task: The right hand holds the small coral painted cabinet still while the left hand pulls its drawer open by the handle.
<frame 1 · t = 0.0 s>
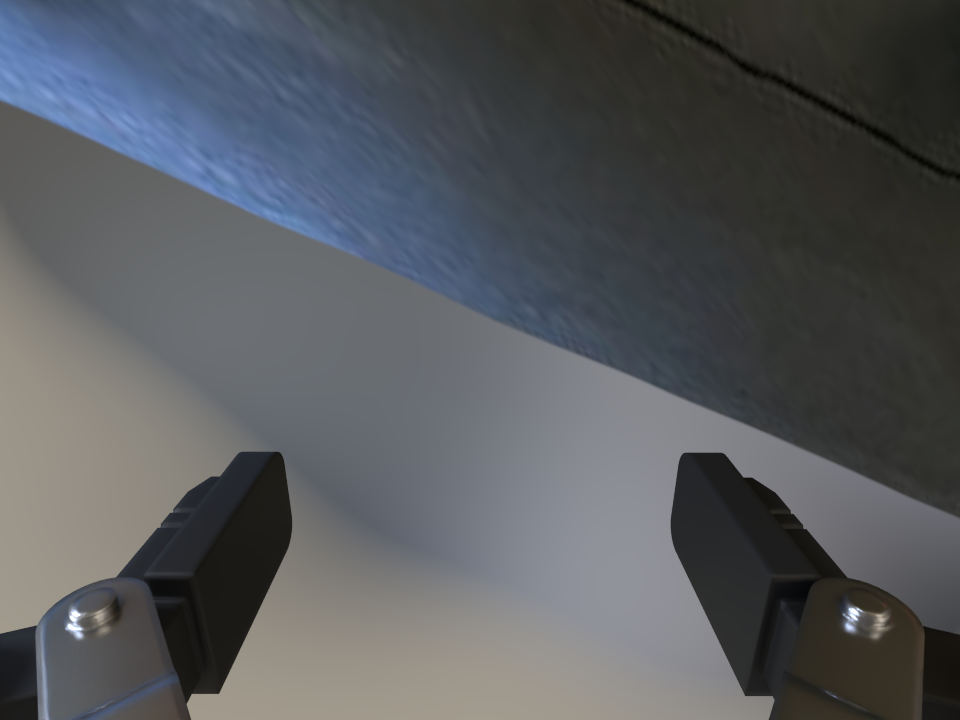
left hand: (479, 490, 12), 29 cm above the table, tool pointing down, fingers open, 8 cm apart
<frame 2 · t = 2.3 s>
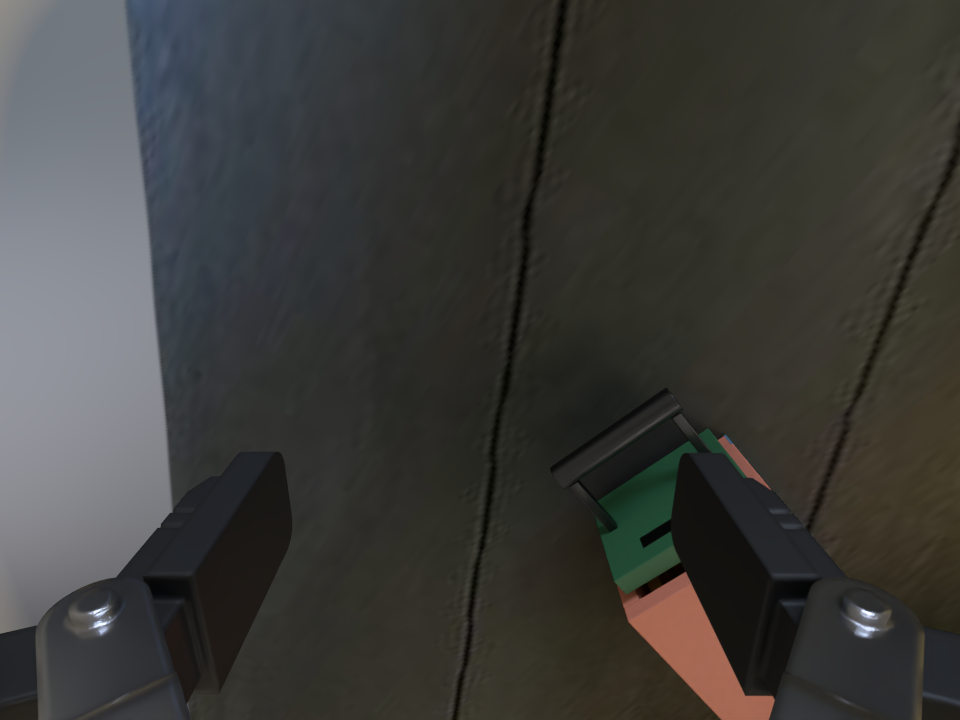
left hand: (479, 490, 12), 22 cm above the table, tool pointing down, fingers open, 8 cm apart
drawer: (695, 537, 34), point 4 cm above the table, slide at 0.6 cm
cabinet: (713, 543, 39), on the table
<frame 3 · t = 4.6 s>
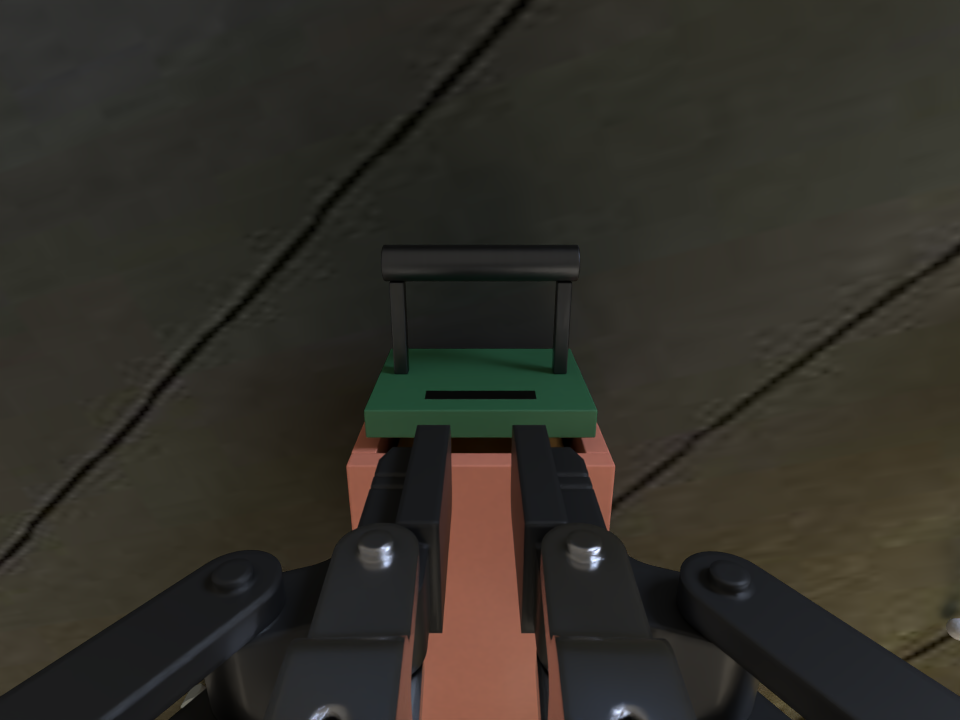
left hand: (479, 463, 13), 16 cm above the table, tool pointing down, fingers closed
drawer: (480, 444, 26), point 4 cm above the table, slide at 0.6 cm
cabinet: (480, 487, 32), on the table, touching right hand
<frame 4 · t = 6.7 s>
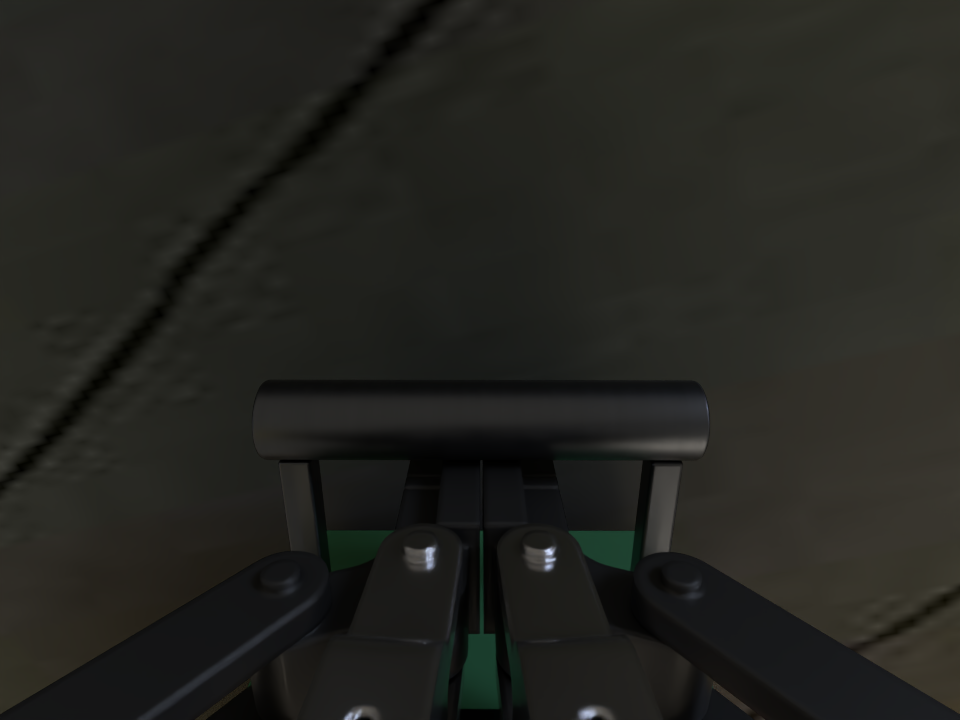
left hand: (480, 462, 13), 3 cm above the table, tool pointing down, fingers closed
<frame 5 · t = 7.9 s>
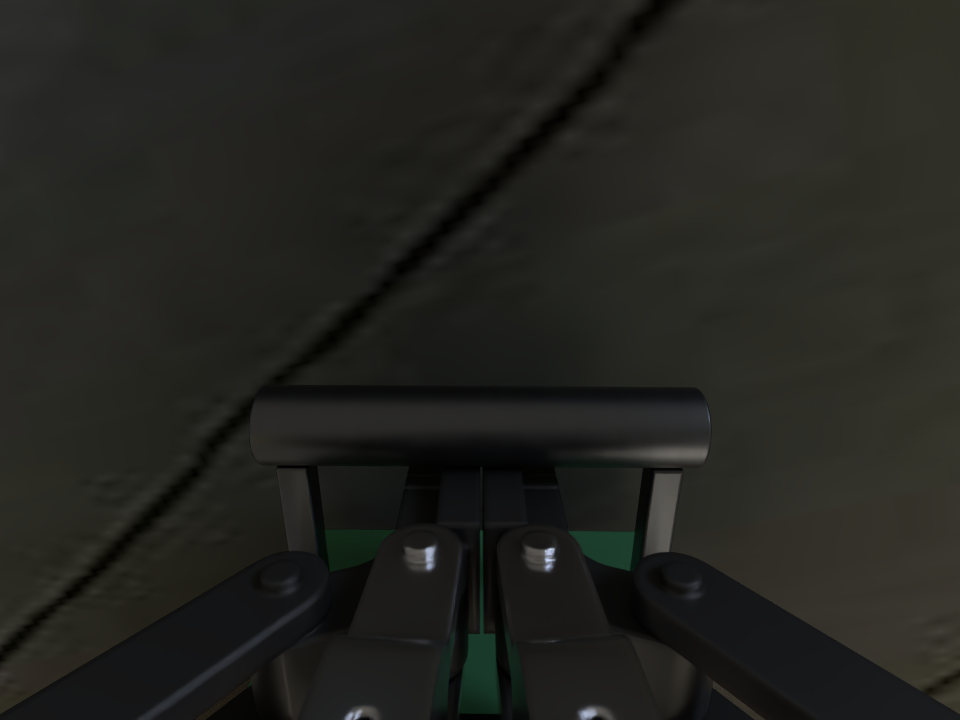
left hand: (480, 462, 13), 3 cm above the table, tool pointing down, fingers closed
when the right hand's fingers open (4 cm above the table, at t = 9.9 s): cabinet stays where it is, on the table.
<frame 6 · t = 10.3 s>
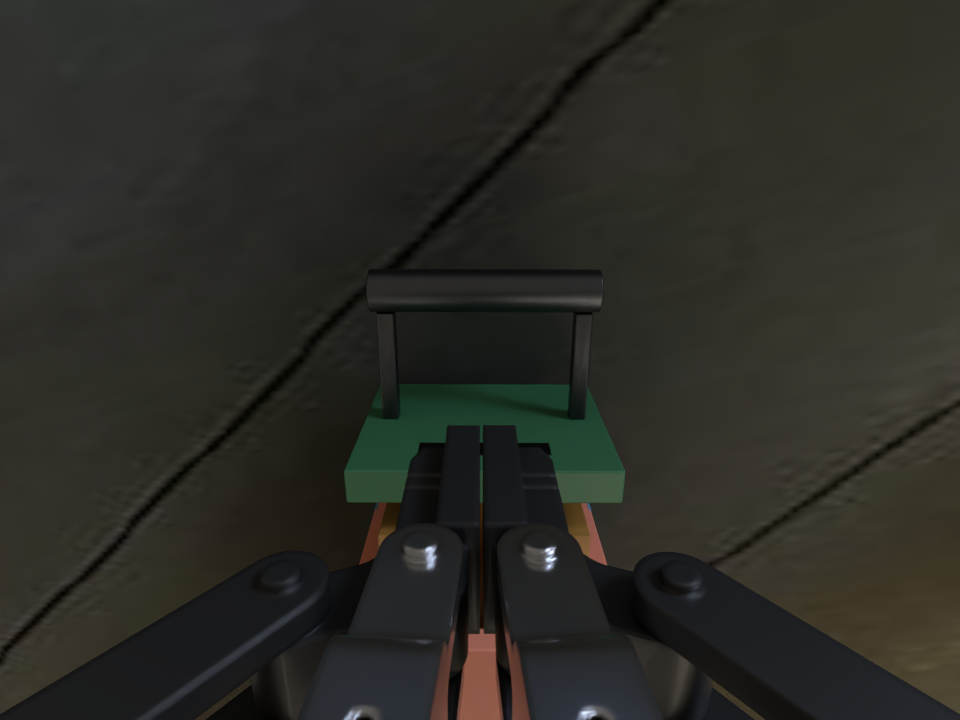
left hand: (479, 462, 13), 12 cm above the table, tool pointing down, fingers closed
drawer: (483, 499, 22), point 4 cm above the table, slide at 5.1 cm
cabinet: (482, 607, 30), on the table
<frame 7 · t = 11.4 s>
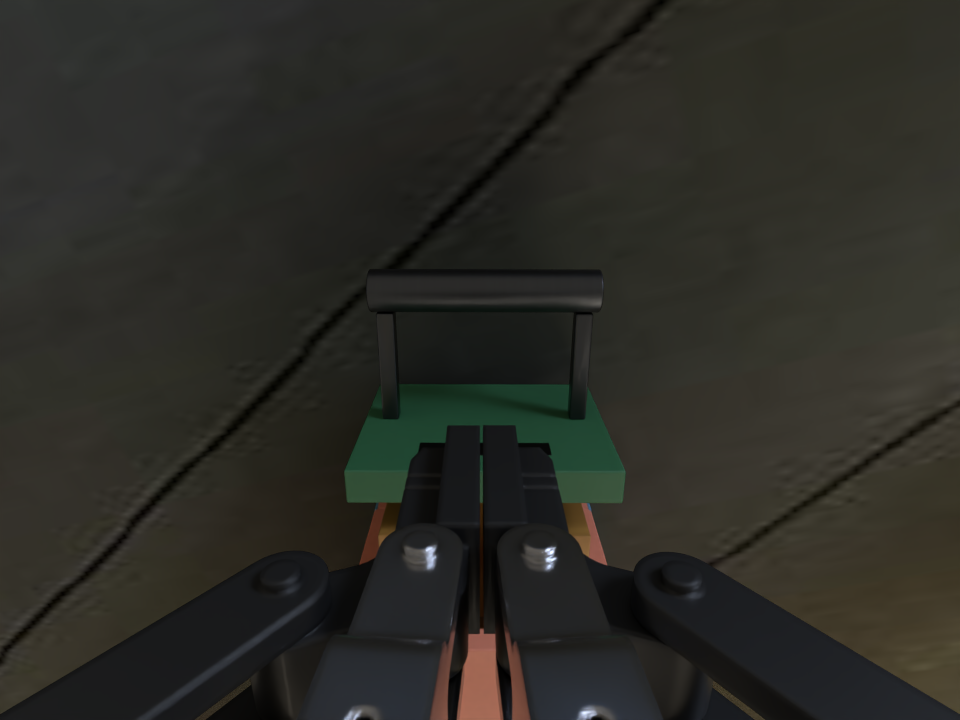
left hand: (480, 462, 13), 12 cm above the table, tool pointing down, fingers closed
drawer: (483, 499, 22), point 4 cm above the table, slide at 5.1 cm
cabinet: (482, 607, 30), on the table
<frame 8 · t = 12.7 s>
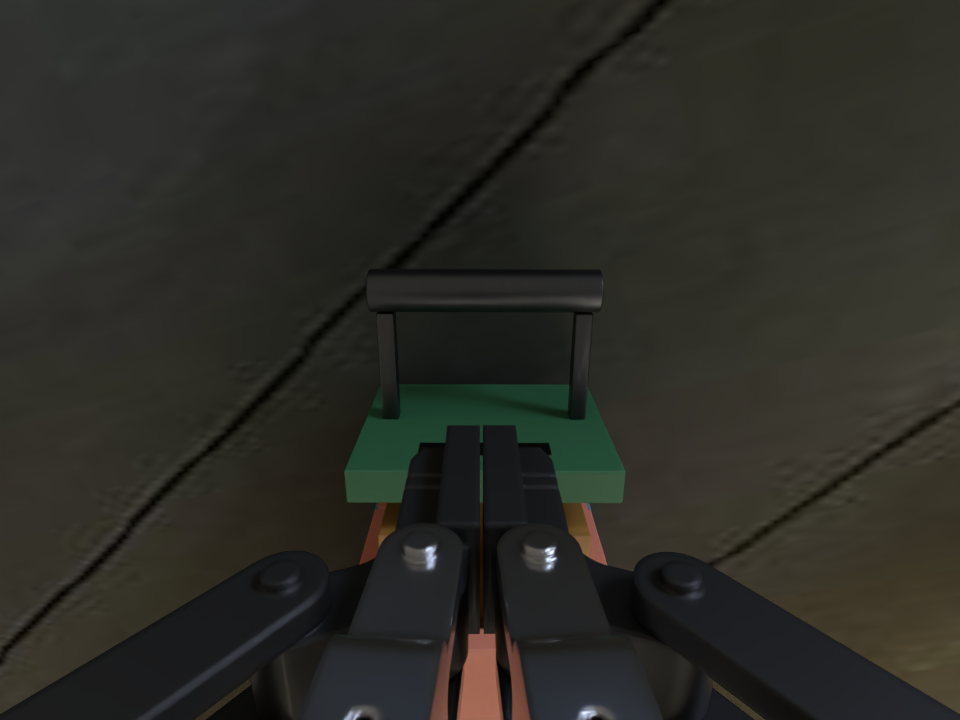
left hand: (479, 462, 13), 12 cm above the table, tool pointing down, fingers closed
drawer: (483, 499, 22), point 4 cm above the table, slide at 5.1 cm
cabinet: (482, 607, 30), on the table
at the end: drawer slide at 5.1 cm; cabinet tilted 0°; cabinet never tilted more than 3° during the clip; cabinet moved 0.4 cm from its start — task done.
